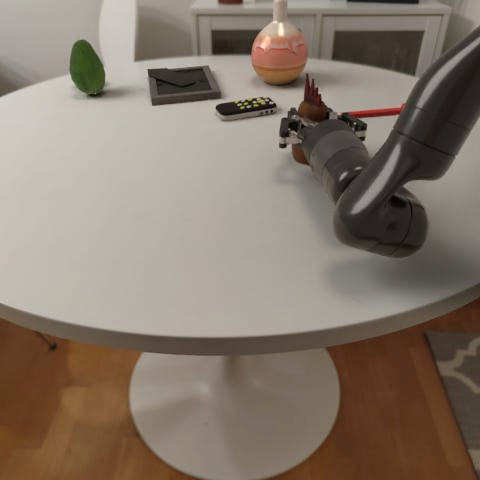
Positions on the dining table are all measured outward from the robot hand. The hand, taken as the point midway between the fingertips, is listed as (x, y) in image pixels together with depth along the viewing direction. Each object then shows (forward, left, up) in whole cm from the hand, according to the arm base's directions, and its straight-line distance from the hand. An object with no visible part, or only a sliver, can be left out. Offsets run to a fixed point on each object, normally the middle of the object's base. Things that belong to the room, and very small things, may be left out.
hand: (307, 112), depth 76 cm
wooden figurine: (0, +3, -9) cm, 9 cm away
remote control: (+7, -24, -9) cm, 27 cm away
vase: (-4, -43, -9) cm, 44 cm away
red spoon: (-21, -17, -9) cm, 29 cm away
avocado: (+42, -44, -9) cm, 62 cm away
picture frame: (+20, -44, -9) cm, 49 cm away
